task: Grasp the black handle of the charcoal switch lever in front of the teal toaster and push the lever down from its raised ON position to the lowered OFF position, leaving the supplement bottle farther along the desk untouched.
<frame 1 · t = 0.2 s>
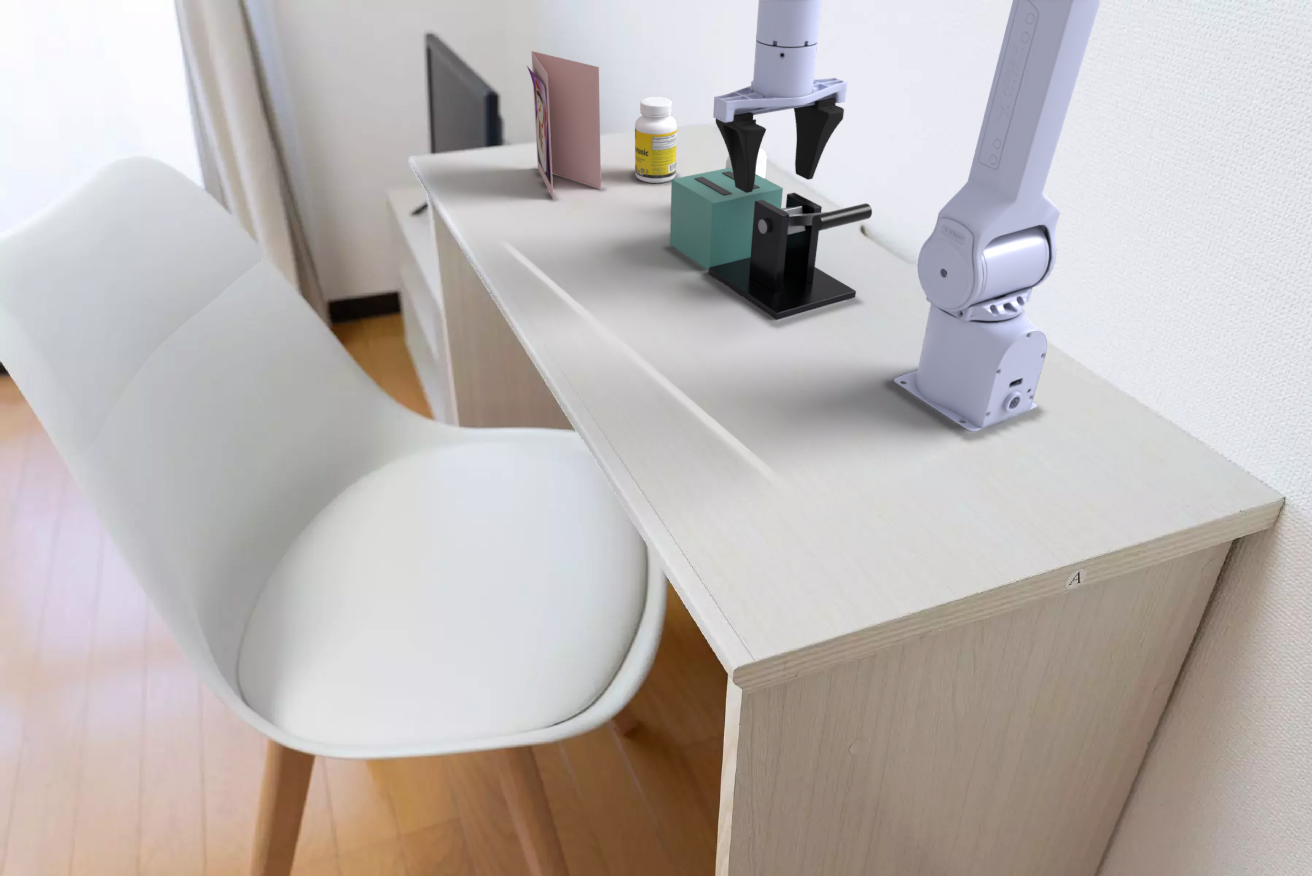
hand: (774, 182, 98), 10 cm above the table, tool pointing down, fingers open, 7 cm apart
greeting card: (567, 183, 125), on the table
toaster: (722, 253, 108), on the table
lever: (811, 219, 93), point 9 cm above the table, hinge at 22.0°
eye dropper bottle: (742, 218, 116), on the table
switch bracket: (779, 289, 100), on the table
supplement bottle: (655, 178, 127), on the table
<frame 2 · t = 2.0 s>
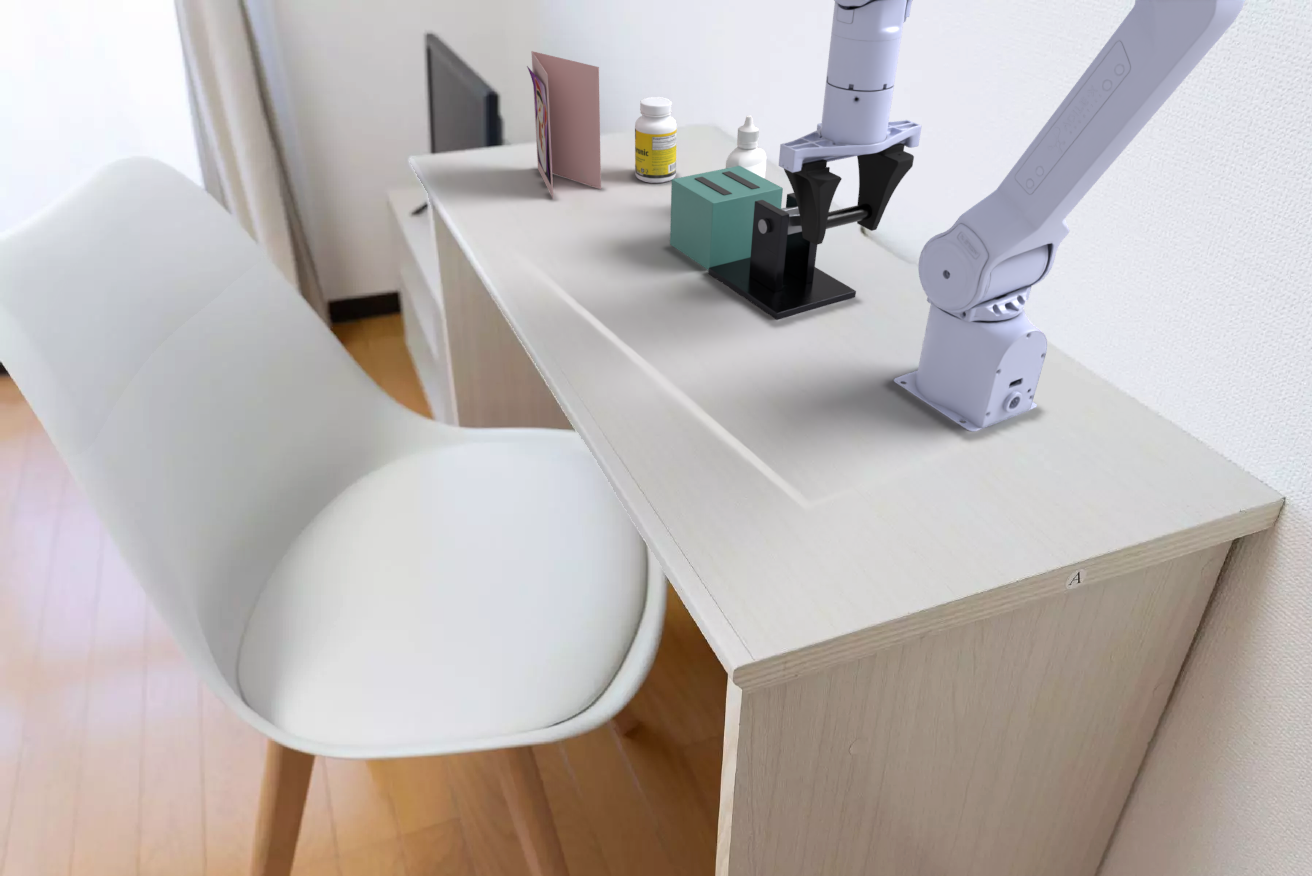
hand: (840, 233, 90), 9 cm above the table, tool pointing down, fingers closed on lever, 6 cm apart
lever: (811, 219, 93), point 9 cm above the table, hinge at 22.0°, touching gripper
everything else where it was.
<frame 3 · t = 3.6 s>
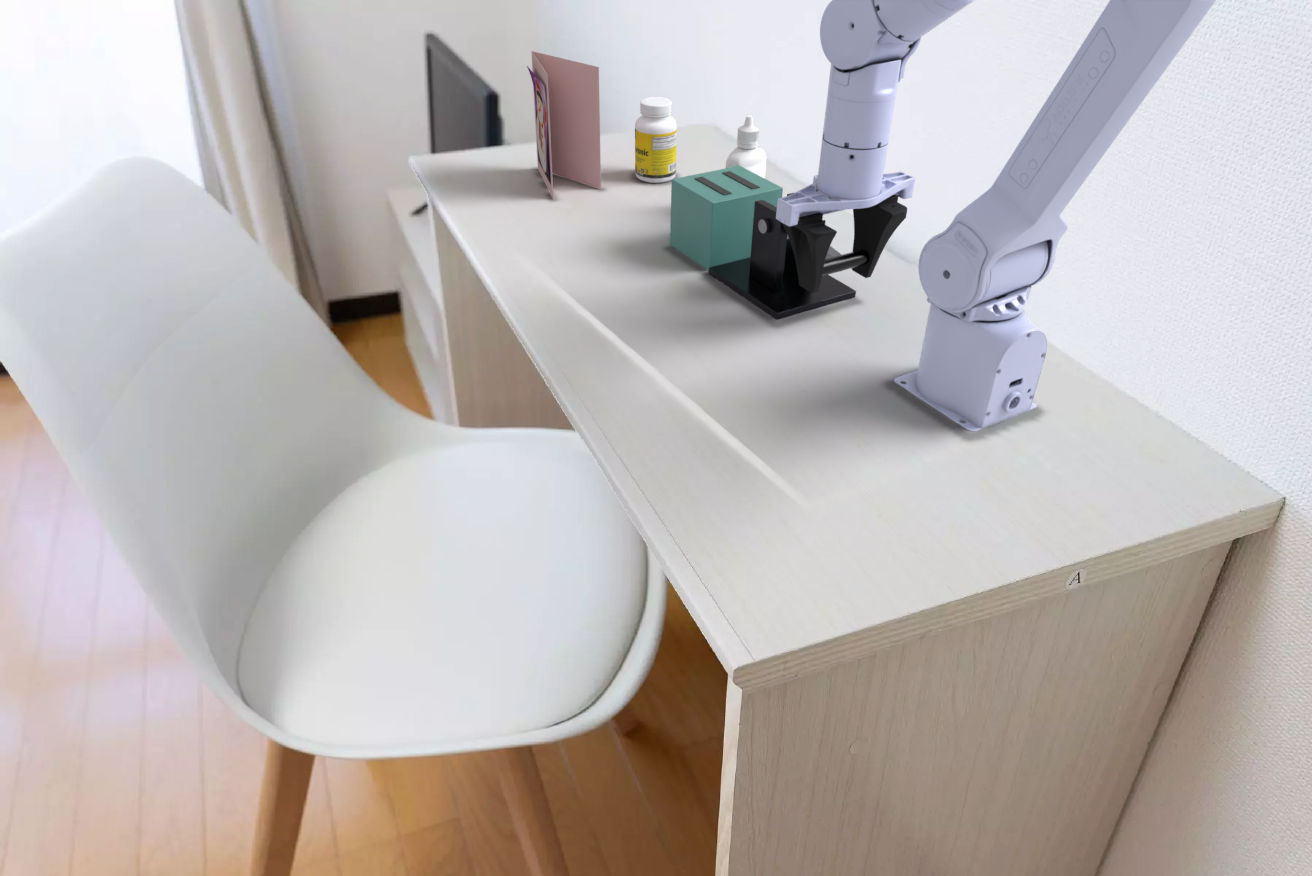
hand: (835, 280, 92), 4 cm above the table, tool pointing down, fingers closed on lever, 6 cm apart
lever: (810, 239, 94), point 7 cm above the table, hinge at -8.2°, touching gripper
everything else where it was.
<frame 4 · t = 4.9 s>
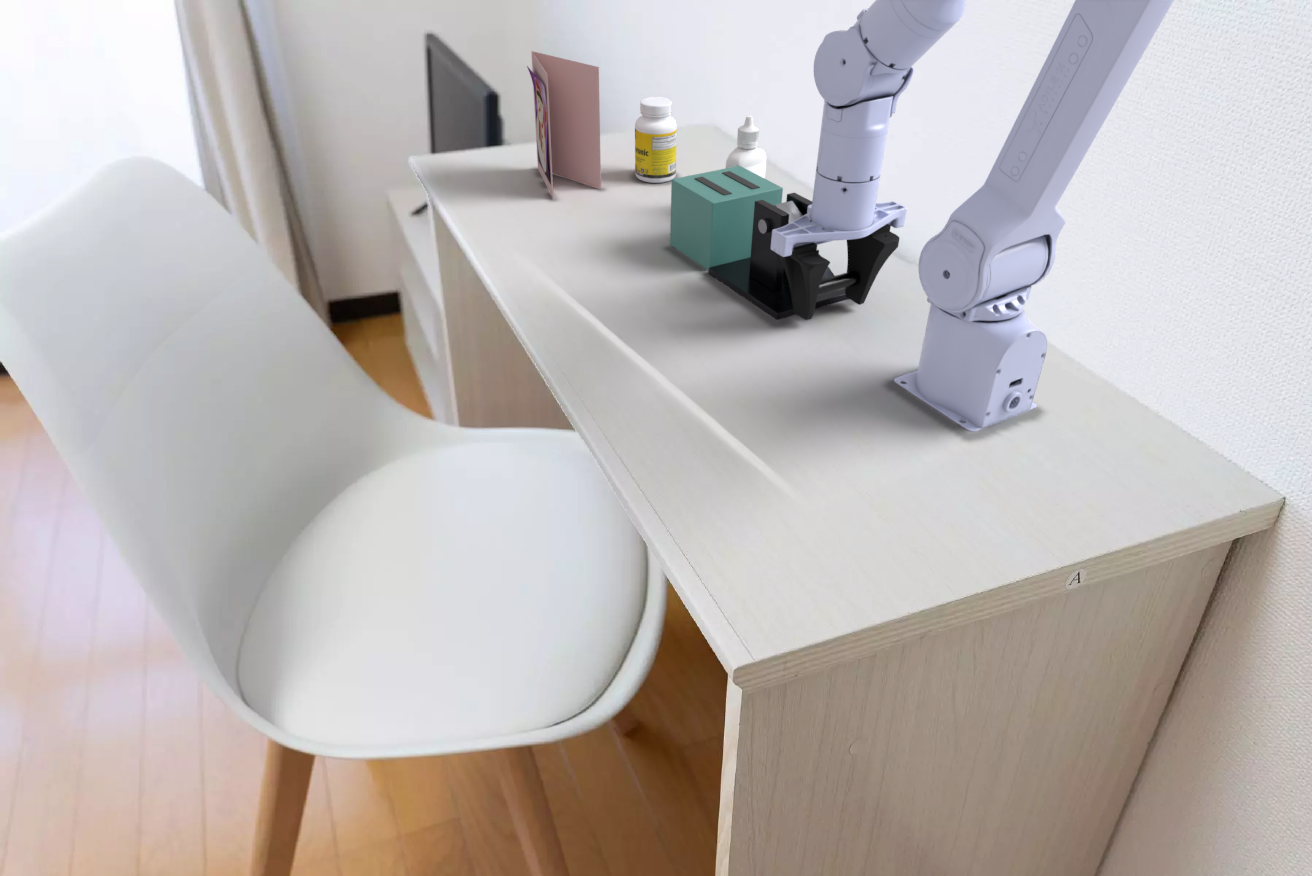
hand: (829, 307, 94), 1 cm above the table, tool pointing down, fingers closed on lever, 6 cm apart
lever: (806, 249, 95), point 6 cm above the table, hinge at -25.9°, touching gripper
everything else where it was.
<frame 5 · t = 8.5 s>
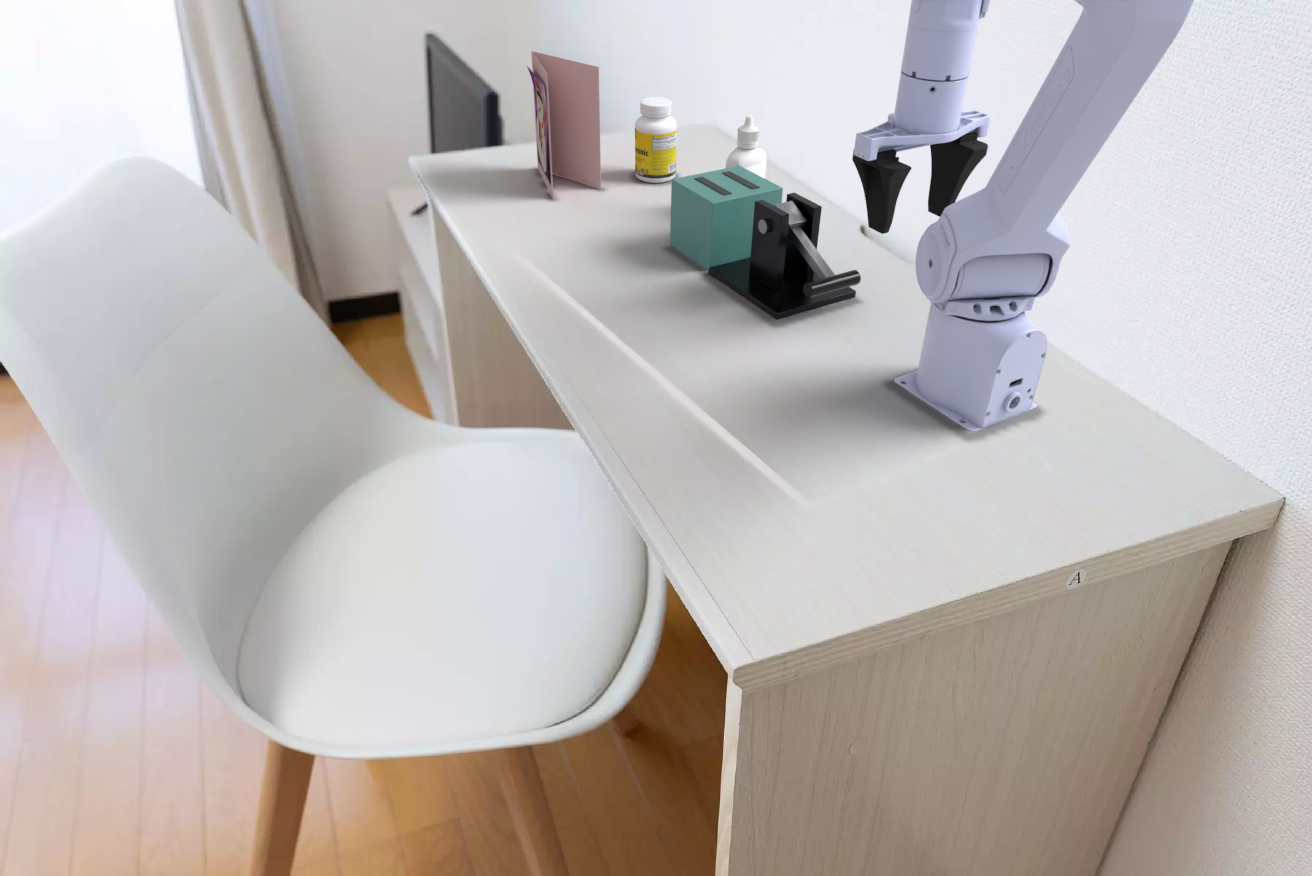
hand: (908, 222, 91), 9 cm above the table, tool pointing down, fingers open, 7 cm apart
lever: (807, 249, 95), point 6 cm above the table, hinge at -25.2°
everything else where it was.
at the end: lever at -25° (first picture: +22°); supplement bottle moved 0.2 cm from its start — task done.
